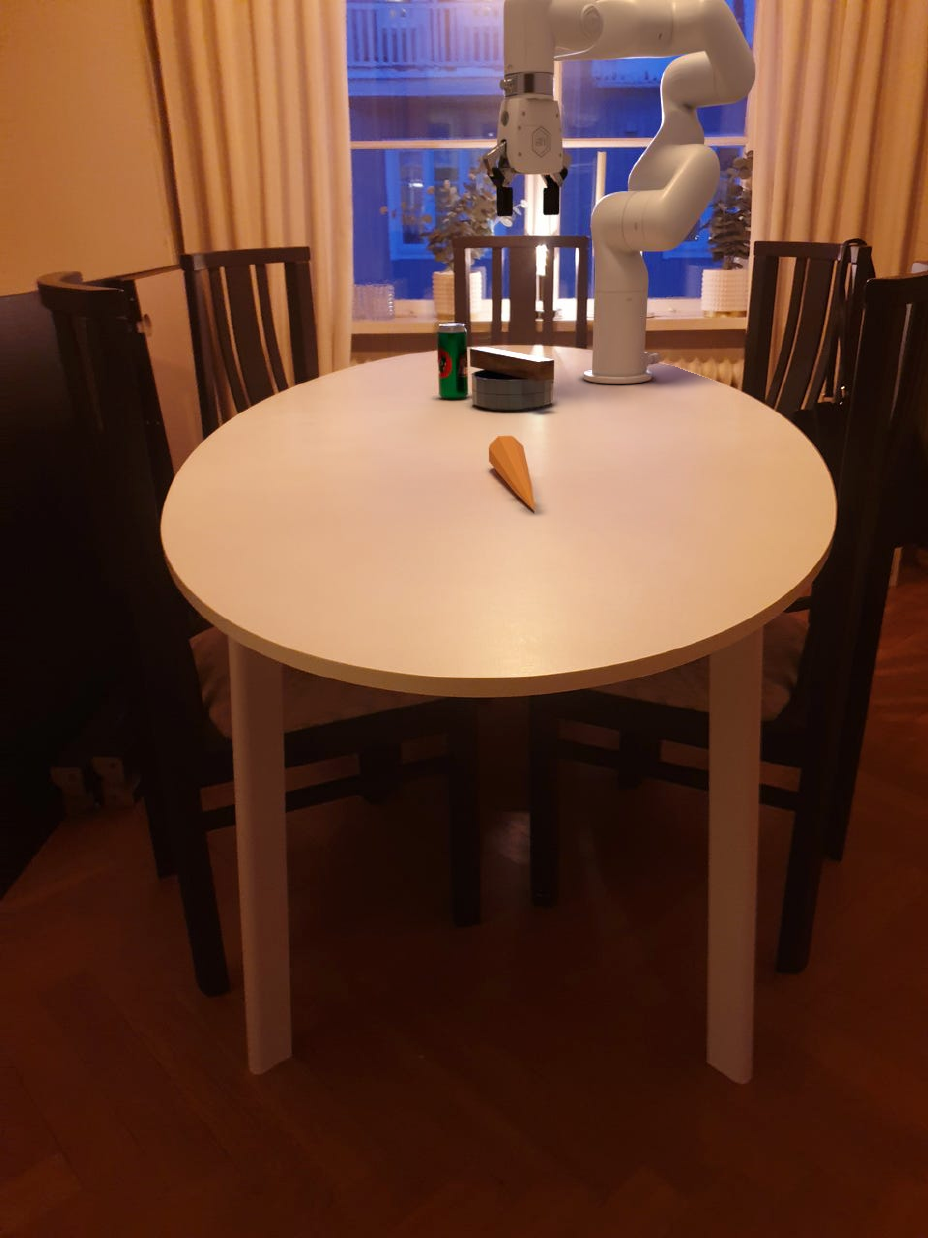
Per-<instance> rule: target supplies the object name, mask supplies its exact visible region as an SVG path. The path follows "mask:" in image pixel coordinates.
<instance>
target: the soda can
mask: <svg viewBox="0 0 928 1238" xmlns="http://www.w3.org/2000/svg"><path fill="white" fill-rule="evenodd" d="M465 325H466V324H464V323H458V322H456V323H455V322H454V323H453V322H452V323H451V322H450V323H441V324H438V329H437V331H436V347H437V348H436V351H437V352H436V353H437V354H436V355H437V374H438V376H437V380H438V396H439V397H440V399H442V400H448V401H457V400H463V399H466V398H467V397H468V395H469V364H468V363H469V362H468V358H469V357H468V330H467V328H465Z"/></svg>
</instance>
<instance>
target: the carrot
mask: <svg viewBox="0 0 928 1238" xmlns="http://www.w3.org/2000/svg"><path fill="white" fill-rule="evenodd" d="M526 457H527V456H526V453H525V448H524V444H522V443H521V442H520V441H519V440H518V439H516V437H514V436H513V435H498V436H497V437H495V439H494V440H493V441H492V442H490V444H489V446H488V463H489V464H491V466H492V467H493V468H494V469H495V470H496V472H497V473H498V474H499V475H500V476H501V478H502V479H503V480H504V481H505V482H506V484H507V485H508V486H509V487H510V488H511V490H512V491H513V492H514V493H515V494H516V495H517V496H518V498H519V499H521V500H522V501H523V502H524V504H526V505H527V506H528V507H529V508H531V510H533V511H535V502H534V492H533V491H534V490H533V485H532V480H531V476H530V471H529V467H528V462H527V458H526Z"/></svg>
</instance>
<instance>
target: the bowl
mask: <svg viewBox="0 0 928 1238" xmlns="http://www.w3.org/2000/svg"><path fill="white" fill-rule="evenodd" d="M554 381H555V380H547V381H540V382H538V381H533V380H529V379H524V378H520V377H515V376H511V375H506V374H502V373H497V372H492V371H488V370H483V369H479V370H476V371H474V372H472V373H471V402H472V404H473V405H475V406H478V407H480V408H481V409H484V410H490V411H497V412H521V411H523V412H524V411H532V410H538V409H541V408H543V407H545V406H547V405H549V404H552V403H553V402H554V387H555V385H554V383H555V382H554Z"/></svg>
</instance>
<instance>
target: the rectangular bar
mask: <svg viewBox="0 0 928 1238" xmlns="http://www.w3.org/2000/svg"><path fill="white" fill-rule="evenodd" d="M469 367H471V368H475V369H479V370H488V371H492V372H497V373H502V374H506V375H511V376H515V377H520V378H524V379H529V380H533V381H538V382H540V381H547V380H554V379H555V359H552V358H547V357H541V356H535V355H530V354H525V353H520V352H513V351H508V350H504V349H503V350H502V349H498V348H493V347H487V346H481V347H472V348H471V347H470V348H469ZM554 381H555V380H554Z"/></svg>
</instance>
